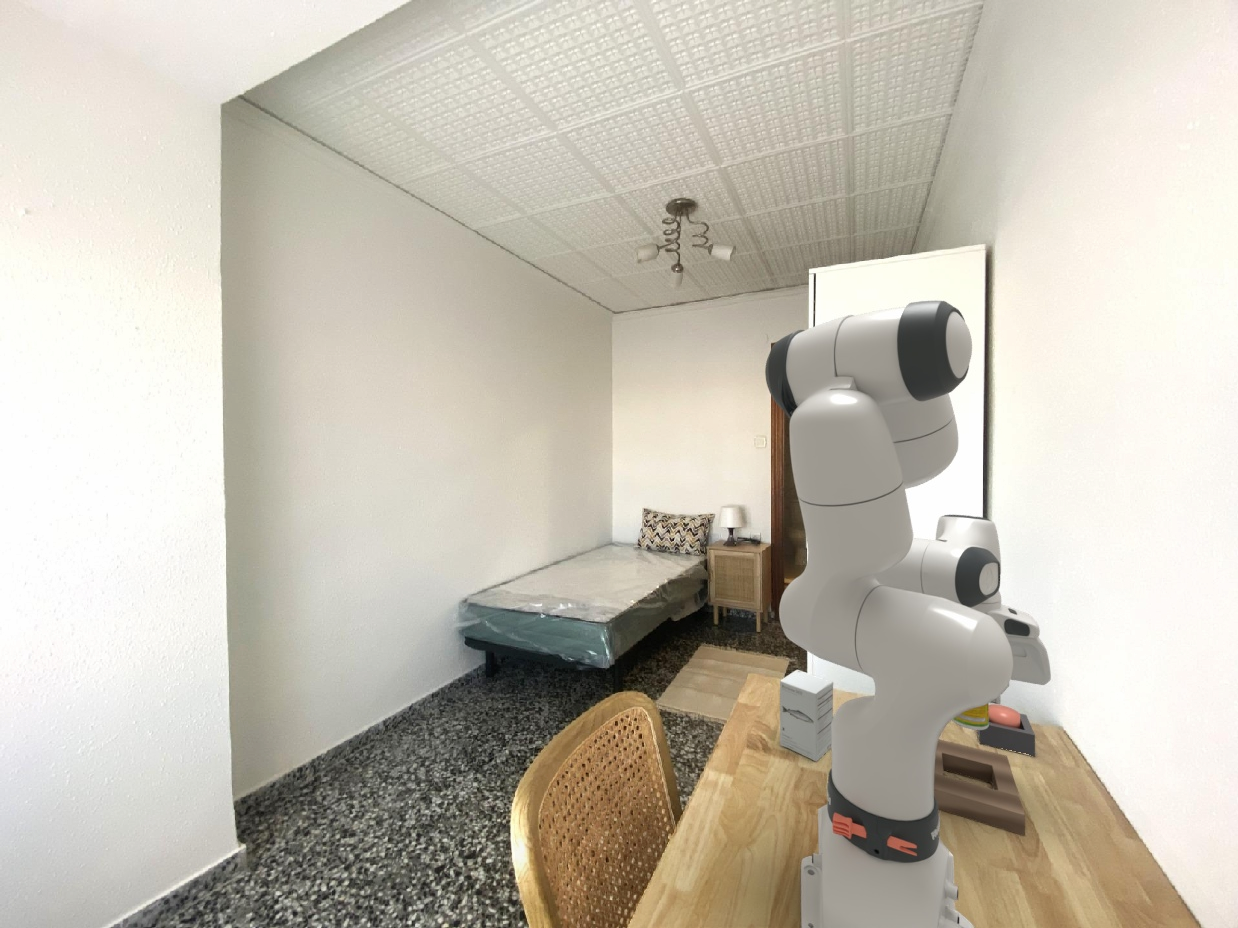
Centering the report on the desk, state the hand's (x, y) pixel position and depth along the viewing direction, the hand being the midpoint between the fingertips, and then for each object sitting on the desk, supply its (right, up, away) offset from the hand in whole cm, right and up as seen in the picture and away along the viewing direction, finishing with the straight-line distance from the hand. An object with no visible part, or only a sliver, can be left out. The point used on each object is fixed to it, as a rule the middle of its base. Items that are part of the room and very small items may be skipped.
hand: (968, 696), depth 79 cm
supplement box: (-22, -16, +12) cm, 29 cm away
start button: (+17, -12, +13) cm, 25 cm away
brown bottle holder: (0, -15, 0) cm, 15 cm away
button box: (+17, -15, +13) cm, 26 cm away
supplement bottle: (0, -4, 0) cm, 4 cm away
